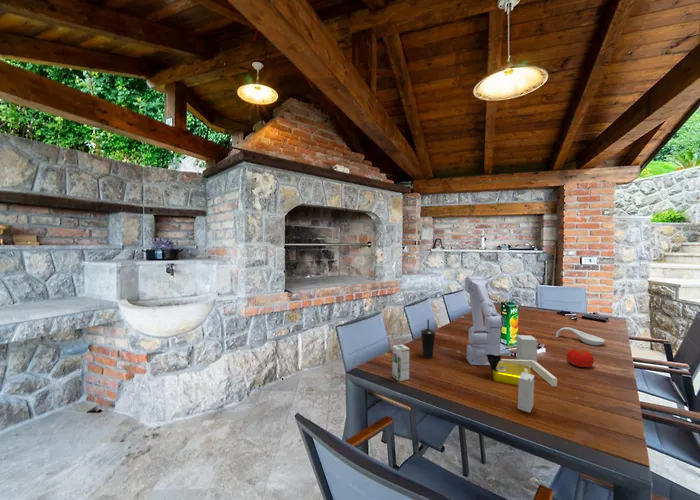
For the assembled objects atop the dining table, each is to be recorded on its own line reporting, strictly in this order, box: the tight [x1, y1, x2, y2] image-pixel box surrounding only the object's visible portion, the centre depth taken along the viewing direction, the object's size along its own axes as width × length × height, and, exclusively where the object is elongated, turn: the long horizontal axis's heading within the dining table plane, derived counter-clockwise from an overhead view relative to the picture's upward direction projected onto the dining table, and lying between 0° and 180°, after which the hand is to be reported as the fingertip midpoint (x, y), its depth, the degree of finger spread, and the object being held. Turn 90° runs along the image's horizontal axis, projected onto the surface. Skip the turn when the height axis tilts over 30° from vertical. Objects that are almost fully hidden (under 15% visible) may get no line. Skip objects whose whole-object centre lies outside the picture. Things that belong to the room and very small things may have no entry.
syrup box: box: [391, 344, 410, 382], centre depth 136 cm, size 6×6×14 cm
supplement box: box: [515, 334, 538, 363], centre depth 153 cm, size 7×7×13 cm
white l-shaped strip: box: [500, 358, 558, 387], centre depth 138 cm, size 16×19×4 cm
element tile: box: [492, 360, 532, 387], centre depth 137 cm, size 15×15×5 cm
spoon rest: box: [555, 326, 606, 346], centre depth 183 cm, size 24×12×7 cm, turn 43°
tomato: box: [566, 347, 595, 368], centre depth 149 cm, size 11×11×8 cm
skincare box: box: [517, 373, 535, 413], centre depth 112 cm, size 6×4×12 cm
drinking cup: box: [420, 319, 436, 359], centre depth 160 cm, size 8×8×20 cm
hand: (493, 370), depth 138 cm, fingers closed
